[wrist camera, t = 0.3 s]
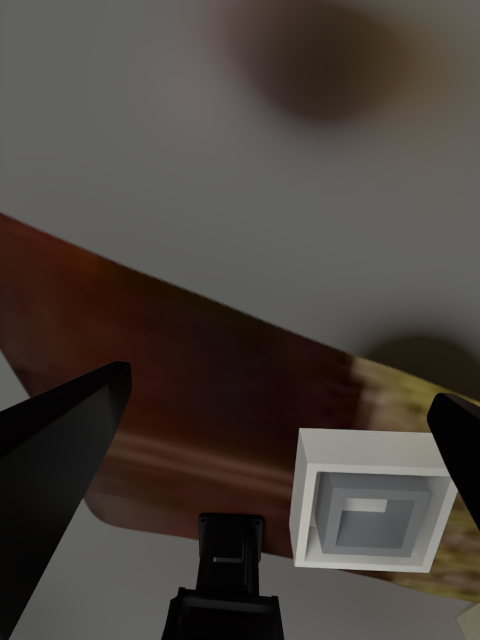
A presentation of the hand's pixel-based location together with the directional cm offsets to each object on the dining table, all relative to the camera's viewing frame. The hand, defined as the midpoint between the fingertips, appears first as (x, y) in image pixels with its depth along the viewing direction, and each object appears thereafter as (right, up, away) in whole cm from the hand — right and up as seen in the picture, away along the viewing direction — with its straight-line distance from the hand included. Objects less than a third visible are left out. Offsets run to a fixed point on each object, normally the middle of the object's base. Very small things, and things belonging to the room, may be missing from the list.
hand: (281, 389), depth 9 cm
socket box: (+10, -13, +20) cm, 26 cm away
